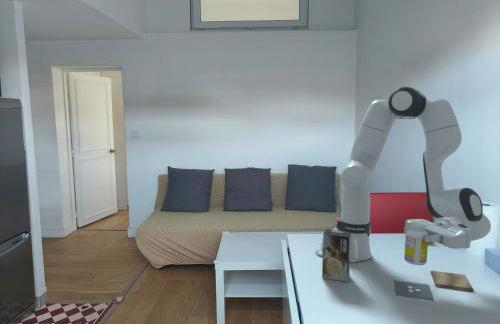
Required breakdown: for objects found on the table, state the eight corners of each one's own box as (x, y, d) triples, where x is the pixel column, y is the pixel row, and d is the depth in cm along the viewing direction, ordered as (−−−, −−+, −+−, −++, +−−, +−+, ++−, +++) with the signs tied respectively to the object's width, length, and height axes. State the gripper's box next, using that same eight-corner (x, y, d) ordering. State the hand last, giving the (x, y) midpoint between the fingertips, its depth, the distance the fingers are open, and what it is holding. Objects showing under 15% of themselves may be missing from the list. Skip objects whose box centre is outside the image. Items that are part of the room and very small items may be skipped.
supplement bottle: (425, 259, 121) (427, 221, 120) (427, 267, 115) (430, 227, 113) (403, 256, 123) (405, 219, 122) (404, 264, 117) (407, 225, 116)
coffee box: (350, 275, 131) (352, 231, 129) (348, 282, 125) (350, 237, 123) (324, 270, 135) (326, 228, 133) (321, 278, 129) (322, 233, 127)
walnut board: (435, 286, 123) (435, 283, 123) (430, 273, 134) (430, 270, 133) (472, 291, 120) (472, 288, 120) (464, 277, 130) (464, 274, 130)
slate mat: (396, 295, 117) (396, 294, 117) (394, 280, 127) (394, 279, 127) (434, 300, 113) (434, 300, 113) (428, 285, 124) (429, 284, 124)
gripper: (424, 213, 132) (392, 216, 127) (475, 230, 112) (441, 234, 108) (422, 230, 132) (391, 234, 128) (474, 250, 113) (439, 255, 109)
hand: (414, 234), depth 118 cm, fingers closed on supplement bottle, 7 cm apart
